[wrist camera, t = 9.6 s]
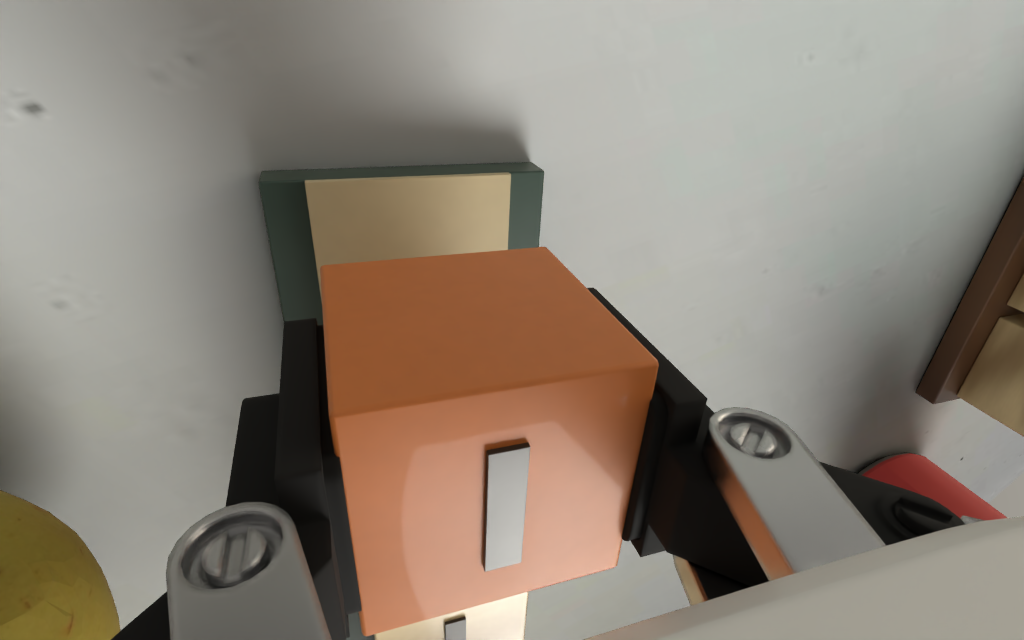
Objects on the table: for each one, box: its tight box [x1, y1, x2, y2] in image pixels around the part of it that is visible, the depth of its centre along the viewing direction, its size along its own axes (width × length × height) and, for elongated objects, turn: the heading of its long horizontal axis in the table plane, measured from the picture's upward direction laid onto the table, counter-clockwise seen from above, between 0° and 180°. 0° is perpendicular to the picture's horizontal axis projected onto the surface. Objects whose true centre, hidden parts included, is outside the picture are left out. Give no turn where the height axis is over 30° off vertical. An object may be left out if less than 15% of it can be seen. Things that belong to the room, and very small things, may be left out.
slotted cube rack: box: [259, 162, 544, 640], centre depth 17 cm, size 20×7×6 cm, turn 178°
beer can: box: [858, 453, 1007, 520], centre depth 26 cm, size 7×7×12 cm
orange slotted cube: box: [320, 247, 659, 636], centre depth 10 cm, size 4×4×4 cm
